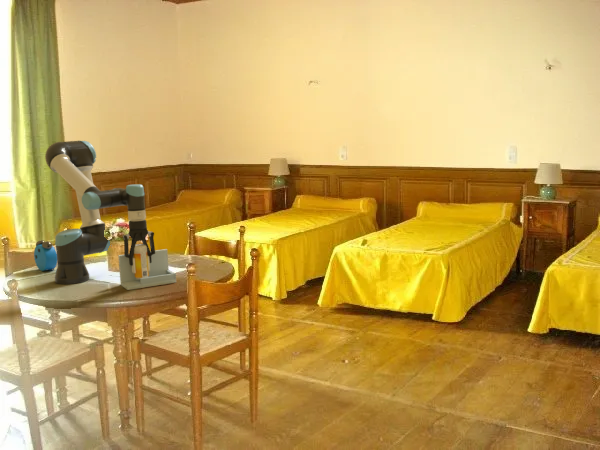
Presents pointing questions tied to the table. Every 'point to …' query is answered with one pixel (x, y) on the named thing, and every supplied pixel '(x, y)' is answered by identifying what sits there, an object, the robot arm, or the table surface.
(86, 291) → the table surface
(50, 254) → the alarm clock
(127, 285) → the stand
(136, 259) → the beer can
